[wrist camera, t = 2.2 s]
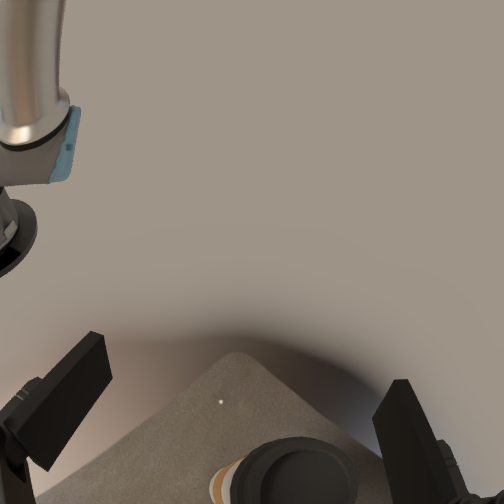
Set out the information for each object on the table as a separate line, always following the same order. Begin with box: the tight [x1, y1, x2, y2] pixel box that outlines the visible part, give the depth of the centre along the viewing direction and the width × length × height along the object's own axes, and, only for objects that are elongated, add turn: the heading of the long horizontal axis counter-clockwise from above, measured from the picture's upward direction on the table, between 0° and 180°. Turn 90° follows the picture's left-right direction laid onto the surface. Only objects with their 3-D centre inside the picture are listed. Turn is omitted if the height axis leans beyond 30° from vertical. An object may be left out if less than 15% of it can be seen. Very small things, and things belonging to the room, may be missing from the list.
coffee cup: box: [209, 437, 358, 504], centre depth 16 cm, size 8×8×15 cm
